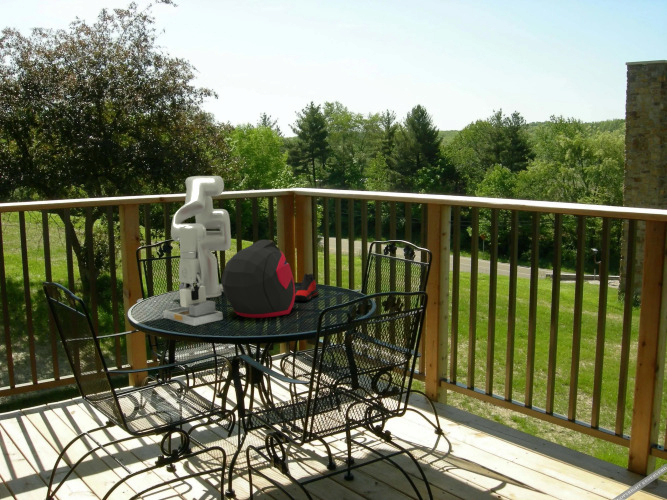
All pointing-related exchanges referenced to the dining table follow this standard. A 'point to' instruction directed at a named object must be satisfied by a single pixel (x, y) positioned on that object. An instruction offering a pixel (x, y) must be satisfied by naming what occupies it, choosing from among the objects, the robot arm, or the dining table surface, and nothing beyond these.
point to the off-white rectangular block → (186, 296)
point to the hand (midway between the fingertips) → (191, 298)
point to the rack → (194, 313)
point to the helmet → (259, 281)
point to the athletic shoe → (307, 289)
